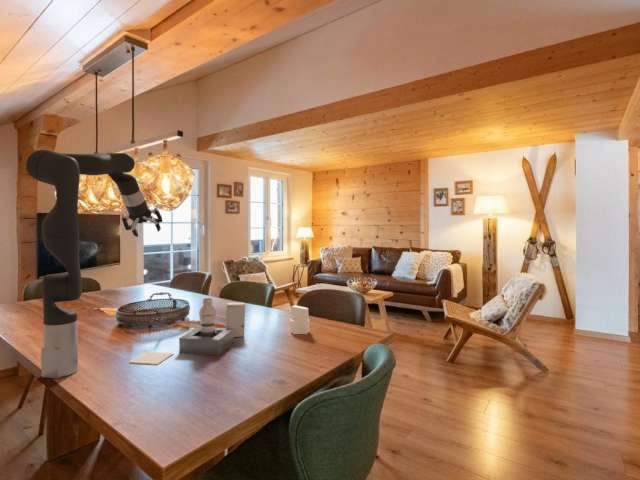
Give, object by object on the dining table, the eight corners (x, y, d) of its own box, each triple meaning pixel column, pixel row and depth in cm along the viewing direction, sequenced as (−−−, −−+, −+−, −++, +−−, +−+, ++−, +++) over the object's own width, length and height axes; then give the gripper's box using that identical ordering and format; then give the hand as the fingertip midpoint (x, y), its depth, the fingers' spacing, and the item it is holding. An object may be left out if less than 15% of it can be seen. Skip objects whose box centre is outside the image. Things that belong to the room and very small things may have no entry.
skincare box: (226, 338, 163) (226, 304, 162) (225, 334, 168) (225, 302, 168) (245, 336, 165) (245, 304, 165) (243, 332, 171) (244, 301, 170)
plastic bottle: (211, 350, 146) (211, 301, 145) (195, 349, 147) (196, 300, 146) (219, 345, 152) (219, 298, 151) (204, 344, 153) (204, 297, 153)
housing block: (218, 355, 141) (218, 340, 140) (179, 353, 143) (179, 338, 142) (233, 342, 157) (233, 328, 156) (198, 340, 159) (198, 326, 158)
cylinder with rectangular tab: (313, 332, 174) (313, 307, 173) (299, 336, 167) (299, 310, 166) (299, 328, 180) (299, 304, 179) (286, 332, 173) (286, 307, 172)
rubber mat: (157, 364, 131) (157, 363, 131) (129, 363, 132) (129, 362, 132) (173, 354, 141) (173, 353, 141) (147, 352, 143) (147, 351, 143)
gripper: (114, 210, 139) (130, 242, 149) (153, 201, 143) (166, 233, 153) (115, 200, 145) (130, 232, 155) (152, 191, 149) (165, 223, 159)
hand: (148, 233), depth 154 cm, fingers open, 8 cm apart
